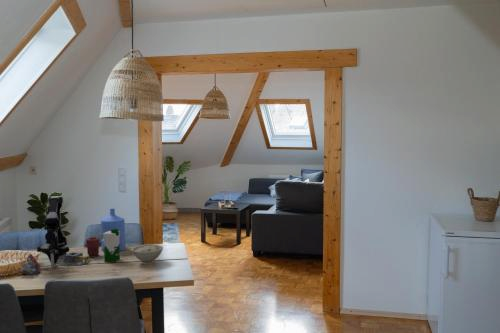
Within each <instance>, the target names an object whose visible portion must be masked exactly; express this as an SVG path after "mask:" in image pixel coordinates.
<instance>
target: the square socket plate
mask: <svg viewBox="0 0 500 333" xmlns="http://www.w3.org/2000/svg"><path fill="white" fill-rule="evenodd" d="M62 257H63V258H61V259H58V261H57V265H69V266H82V265H85V264H88V263H89V262H91V261H93V260H92V258H90V257H89V255H87V256H85V255H84V254H83V252H76V251H69V252H67V253H66V254H64V255H62Z"/></svg>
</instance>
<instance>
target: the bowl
mask: <svg viewBox="0 0 500 333" xmlns="http://www.w3.org/2000/svg"><path fill="white" fill-rule="evenodd" d="M163 250H164V246H161V245H159V244H143V245H137V246H135V247H132V248H131V251H132V254H133V255H134V257H135V258H137V259H138V260H139V261H141V262H142V263H141V264H143V265H150V264H151V265H152V264H154V261H155V260H156V259H158V258H159V256H160V255H161V254H162V252H163Z"/></svg>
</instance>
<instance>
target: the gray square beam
mask: <svg viewBox="0 0 500 333" xmlns="http://www.w3.org/2000/svg"><path fill="white" fill-rule="evenodd" d="M57 265H58V264H57V263H56V264H55V262H54V255H53V253H52V254H51V262H50V268H56V267H57Z"/></svg>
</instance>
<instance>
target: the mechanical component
mask: <svg viewBox="0 0 500 333" xmlns="http://www.w3.org/2000/svg"><path fill="white" fill-rule="evenodd" d="M84 247H85V248H87V256H88V258H92V257H99V253H100V247H102V242H100V237H96V236H90V237H87V238H86V239H85V244H84Z"/></svg>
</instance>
